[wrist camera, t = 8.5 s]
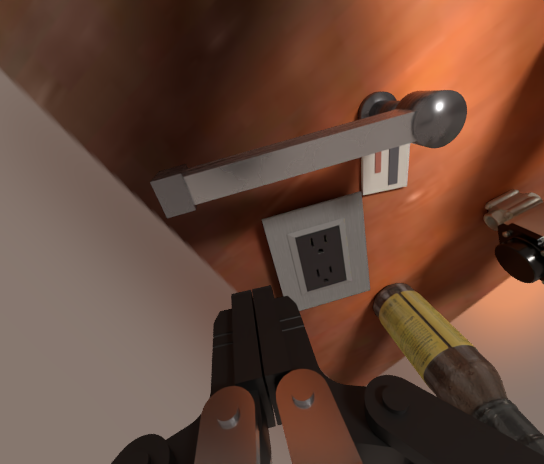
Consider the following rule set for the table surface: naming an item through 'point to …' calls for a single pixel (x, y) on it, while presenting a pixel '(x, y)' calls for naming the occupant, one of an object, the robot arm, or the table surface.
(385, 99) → the arm post
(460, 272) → the table surface
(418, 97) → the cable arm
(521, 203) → the pneumatic valve
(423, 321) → the sauce bottle
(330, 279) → the electrical outlet
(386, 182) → the label plate
